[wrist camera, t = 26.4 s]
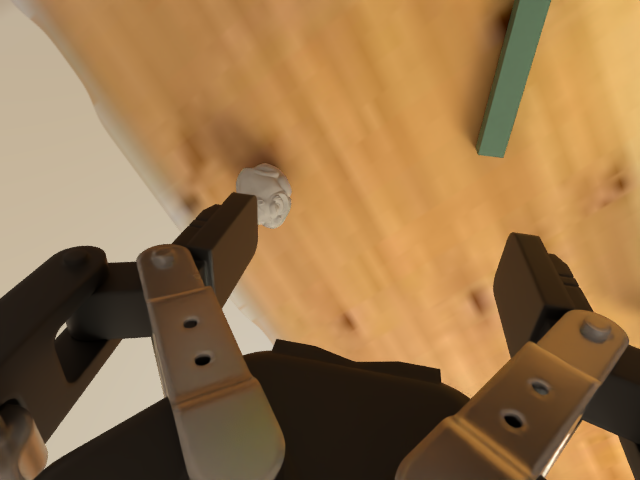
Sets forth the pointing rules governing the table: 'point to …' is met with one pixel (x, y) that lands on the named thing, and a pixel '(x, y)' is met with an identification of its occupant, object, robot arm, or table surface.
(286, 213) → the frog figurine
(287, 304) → the table surface
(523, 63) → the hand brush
